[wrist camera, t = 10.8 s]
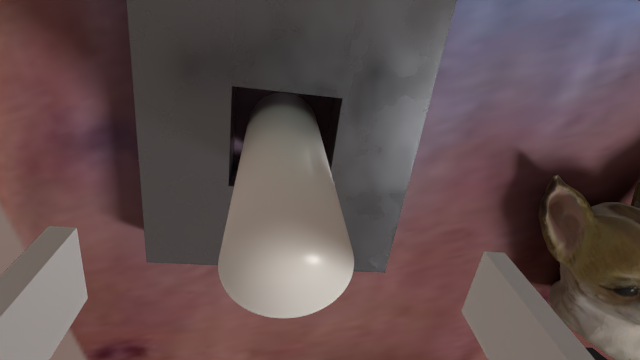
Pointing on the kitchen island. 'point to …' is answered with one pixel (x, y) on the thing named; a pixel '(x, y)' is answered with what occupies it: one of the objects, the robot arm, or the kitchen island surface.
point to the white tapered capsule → (284, 217)
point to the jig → (285, 76)
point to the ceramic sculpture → (595, 267)
